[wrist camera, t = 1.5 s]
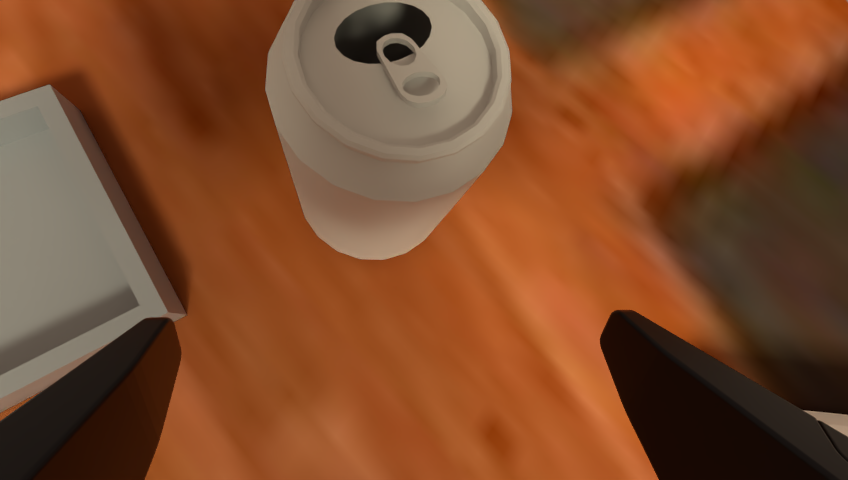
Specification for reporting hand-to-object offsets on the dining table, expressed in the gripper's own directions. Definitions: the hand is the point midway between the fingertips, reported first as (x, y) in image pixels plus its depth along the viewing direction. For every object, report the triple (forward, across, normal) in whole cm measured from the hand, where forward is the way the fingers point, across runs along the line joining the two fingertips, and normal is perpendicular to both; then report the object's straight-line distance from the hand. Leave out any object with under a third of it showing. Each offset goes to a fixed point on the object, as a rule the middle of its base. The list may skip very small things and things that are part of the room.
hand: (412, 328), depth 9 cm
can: (+14, 0, +4) cm, 15 cm away
